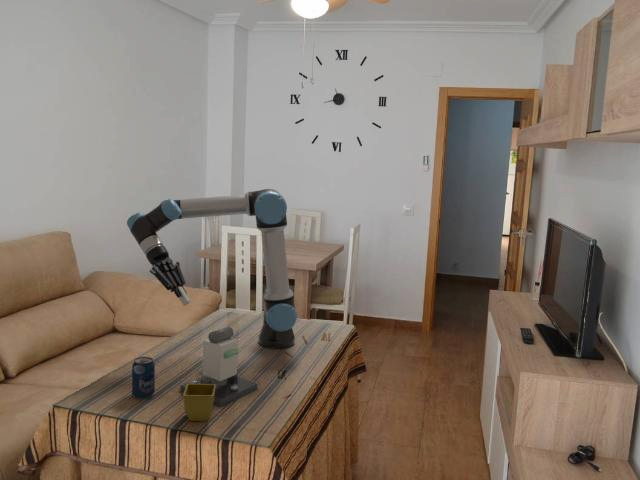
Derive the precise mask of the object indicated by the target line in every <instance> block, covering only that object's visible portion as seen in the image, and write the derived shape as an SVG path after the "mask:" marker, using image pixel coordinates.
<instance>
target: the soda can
mask: <svg viewBox="0 0 640 480" xmlns="http://www.w3.org/2000/svg"><path fill="white" fill-rule="evenodd" d="M131 368H132V369H131V372H132V373H131V375H132V376H131V378H132V379H131V392H132V395H133V397H134V398H135V399H137V398H139V400H145V399H149V398H151V397H152V396H154V393H155V392H156V391H155V387H156V384H155V383H156V381H155V380H156V378H155V377H156V376H155V374H156V371H155V370H156V369H155V368H156V365H155V362H154V359H153V358H152V357H149V356H141V357H137V358H135V359H134V360H133V363H132V366H131Z"/></svg>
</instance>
